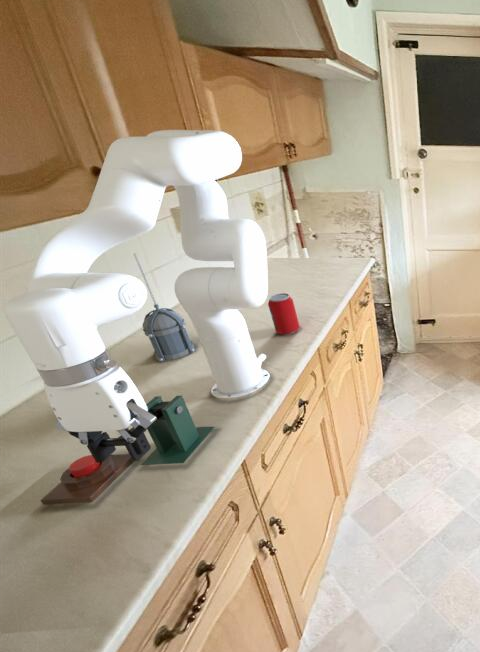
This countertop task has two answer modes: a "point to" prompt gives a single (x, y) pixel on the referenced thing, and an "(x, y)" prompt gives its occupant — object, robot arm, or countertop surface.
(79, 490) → the control block
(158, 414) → the switch lever
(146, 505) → the countertop surface
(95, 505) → the countertop surface
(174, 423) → the switch bracket
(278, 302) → the beverage can
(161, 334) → the lantern
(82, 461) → the red button
